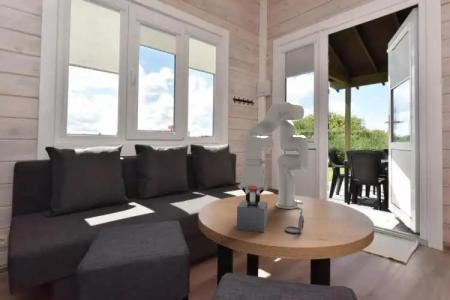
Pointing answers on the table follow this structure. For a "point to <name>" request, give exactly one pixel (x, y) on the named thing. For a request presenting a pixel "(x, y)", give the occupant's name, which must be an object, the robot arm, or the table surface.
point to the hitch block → (252, 217)
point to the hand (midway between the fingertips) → (252, 202)
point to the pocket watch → (296, 229)
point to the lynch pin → (252, 195)
